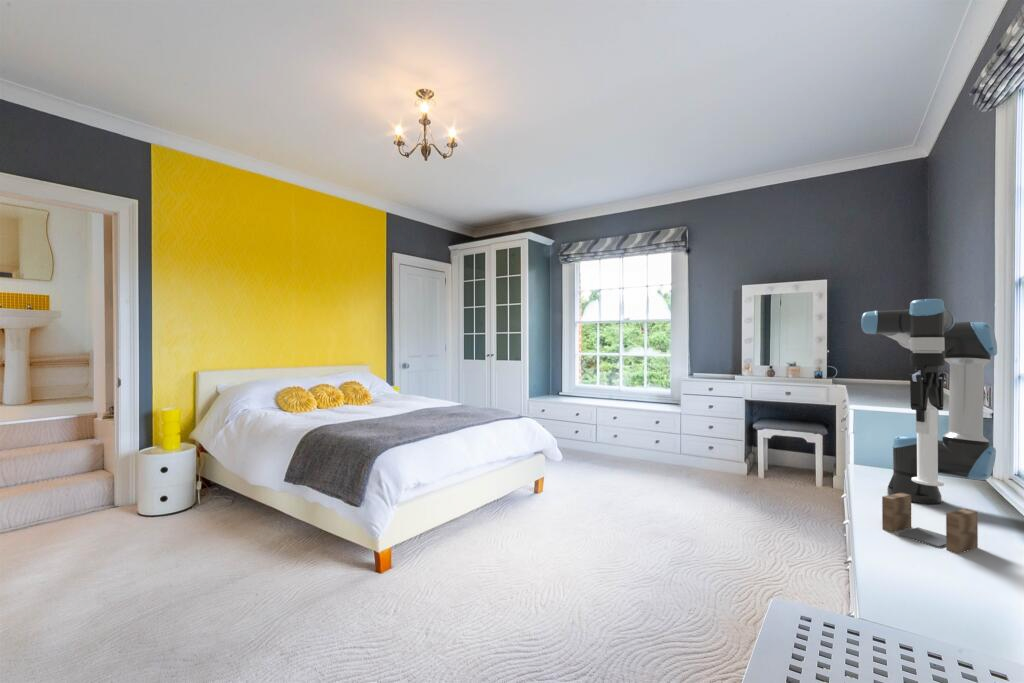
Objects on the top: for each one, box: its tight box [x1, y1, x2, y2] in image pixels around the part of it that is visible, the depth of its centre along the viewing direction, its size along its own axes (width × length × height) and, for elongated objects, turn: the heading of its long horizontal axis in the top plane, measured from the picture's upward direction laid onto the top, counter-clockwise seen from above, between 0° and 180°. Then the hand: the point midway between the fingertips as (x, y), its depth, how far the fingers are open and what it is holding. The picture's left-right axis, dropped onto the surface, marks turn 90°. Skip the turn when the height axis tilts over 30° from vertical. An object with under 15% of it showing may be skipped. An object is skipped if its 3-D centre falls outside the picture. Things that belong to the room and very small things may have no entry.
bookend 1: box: [881, 493, 912, 533], centre depth 142 cm, size 10×2×10 cm, turn 113°
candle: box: [911, 399, 945, 487], centre depth 135 cm, size 7×7×25 cm
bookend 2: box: [945, 508, 979, 554], centre depth 127 cm, size 10×2×10 cm, turn 113°
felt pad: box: [896, 527, 946, 549], centre depth 134 cm, size 11×10×1 cm
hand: (927, 432), depth 135 cm, fingers closed on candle, 4 cm apart
